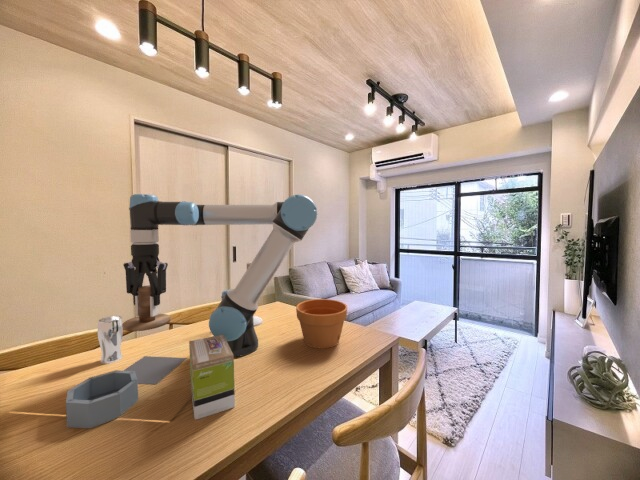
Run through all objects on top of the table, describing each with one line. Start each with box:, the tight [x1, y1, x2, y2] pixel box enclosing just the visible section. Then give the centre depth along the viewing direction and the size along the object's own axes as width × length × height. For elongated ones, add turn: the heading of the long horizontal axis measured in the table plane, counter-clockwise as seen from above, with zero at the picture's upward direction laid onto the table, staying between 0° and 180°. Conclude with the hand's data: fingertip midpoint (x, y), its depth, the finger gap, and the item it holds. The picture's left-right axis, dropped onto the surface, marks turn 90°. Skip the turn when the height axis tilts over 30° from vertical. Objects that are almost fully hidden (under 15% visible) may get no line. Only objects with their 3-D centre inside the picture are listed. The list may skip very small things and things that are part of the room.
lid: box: [122, 284, 171, 332], centre depth 86 cm, size 13×13×12 cm
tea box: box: [188, 334, 236, 421], centre depth 73 cm, size 15×10×15 cm, turn 29°
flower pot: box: [295, 298, 348, 349], centre depth 110 cm, size 21×21×15 cm
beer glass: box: [97, 315, 124, 365], centre depth 93 cm, size 7×7×15 cm
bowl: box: [65, 370, 139, 429], centre depth 69 cm, size 14×14×6 cm
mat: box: [122, 355, 188, 386], centre depth 88 cm, size 16×16×1 cm
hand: (147, 314), depth 86 cm, fingers closed on lid, 4 cm apart
